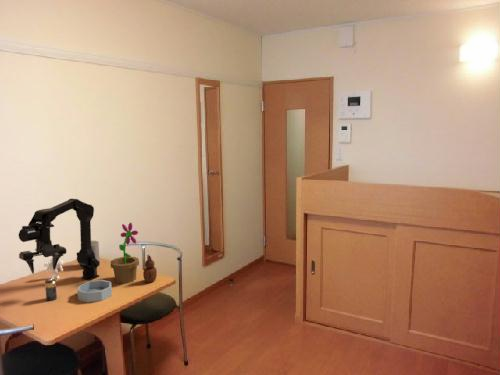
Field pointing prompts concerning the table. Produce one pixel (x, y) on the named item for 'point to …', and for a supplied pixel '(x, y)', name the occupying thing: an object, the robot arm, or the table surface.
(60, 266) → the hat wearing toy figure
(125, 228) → the flowerpot
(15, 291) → the table surface
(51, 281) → the battery cell
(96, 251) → the pillar candle
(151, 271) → the wooden figurine
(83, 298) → the ceramic bowl
